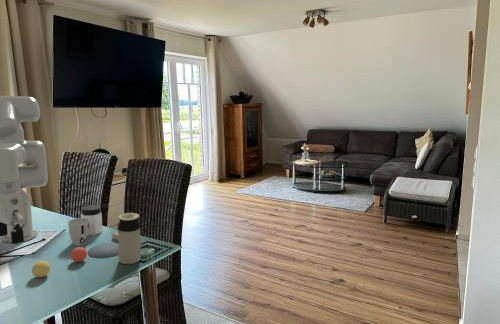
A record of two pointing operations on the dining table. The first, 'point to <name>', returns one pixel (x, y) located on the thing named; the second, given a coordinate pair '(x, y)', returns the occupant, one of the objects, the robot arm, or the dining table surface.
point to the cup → (79, 230)
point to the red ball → (78, 254)
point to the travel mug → (129, 238)
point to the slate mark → (104, 250)
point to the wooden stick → (115, 237)
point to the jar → (93, 218)
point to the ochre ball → (41, 269)
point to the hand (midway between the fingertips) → (9, 239)
